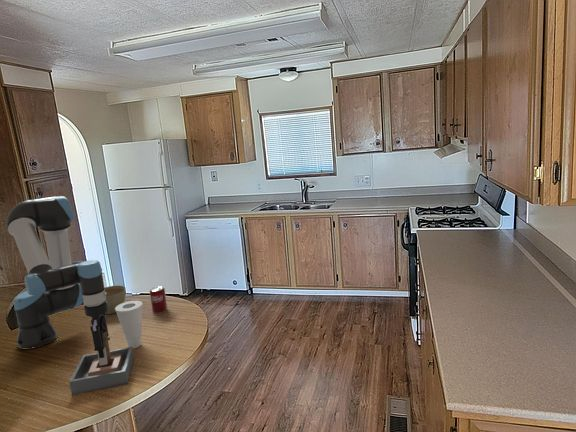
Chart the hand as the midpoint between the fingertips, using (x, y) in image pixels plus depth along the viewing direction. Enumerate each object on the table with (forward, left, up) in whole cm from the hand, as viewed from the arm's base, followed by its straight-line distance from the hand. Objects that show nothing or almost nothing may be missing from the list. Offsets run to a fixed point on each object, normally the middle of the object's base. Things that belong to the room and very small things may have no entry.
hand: (105, 360), depth 148 cm
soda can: (+16, +51, -4) cm, 54 cm away
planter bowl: (-9, +62, -4) cm, 63 cm away
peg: (0, 0, -3) cm, 3 cm away
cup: (+8, +17, -4) cm, 19 cm away
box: (0, -3, -4) cm, 5 cm away
